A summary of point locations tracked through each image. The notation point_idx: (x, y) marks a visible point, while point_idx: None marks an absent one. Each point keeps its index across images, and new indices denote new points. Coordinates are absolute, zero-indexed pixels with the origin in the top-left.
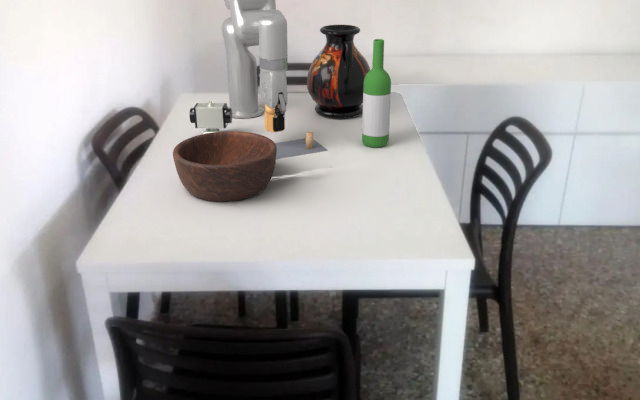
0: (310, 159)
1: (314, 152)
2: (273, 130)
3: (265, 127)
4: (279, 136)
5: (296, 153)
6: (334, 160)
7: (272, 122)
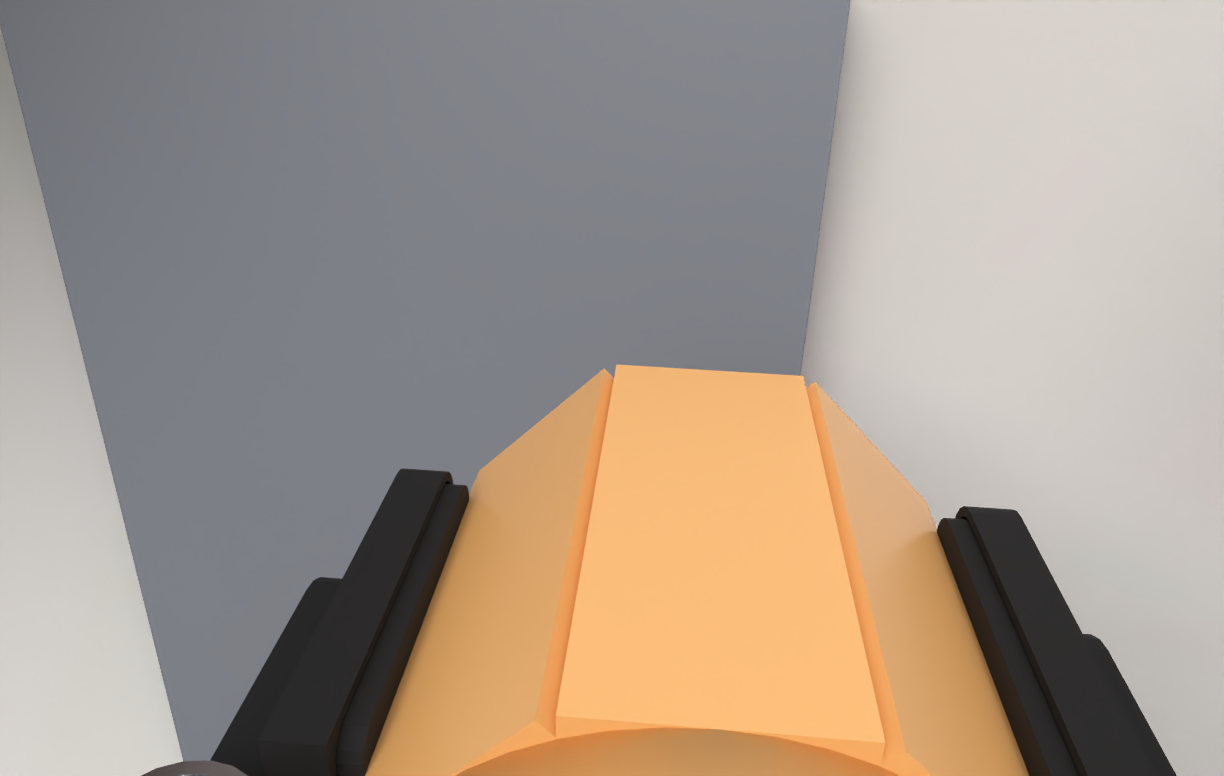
0: (115, 579)
1: (172, 694)
2: (426, 470)
3: (772, 396)
4: (1166, 597)
5: (203, 501)
6: (20, 763)
7: (454, 606)
